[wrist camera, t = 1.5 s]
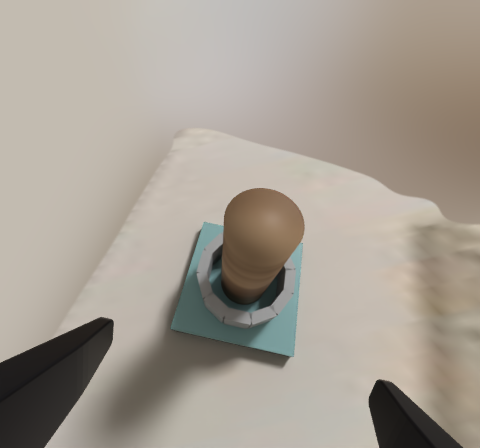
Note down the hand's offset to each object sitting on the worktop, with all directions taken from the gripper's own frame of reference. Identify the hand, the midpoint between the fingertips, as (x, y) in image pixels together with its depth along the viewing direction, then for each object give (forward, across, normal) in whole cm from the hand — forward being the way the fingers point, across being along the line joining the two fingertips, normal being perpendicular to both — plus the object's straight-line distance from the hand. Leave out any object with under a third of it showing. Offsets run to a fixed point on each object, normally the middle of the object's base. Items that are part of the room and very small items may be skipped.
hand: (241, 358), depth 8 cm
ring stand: (+14, 0, +5) cm, 14 cm away
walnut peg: (+13, 0, +4) cm, 13 cm away
